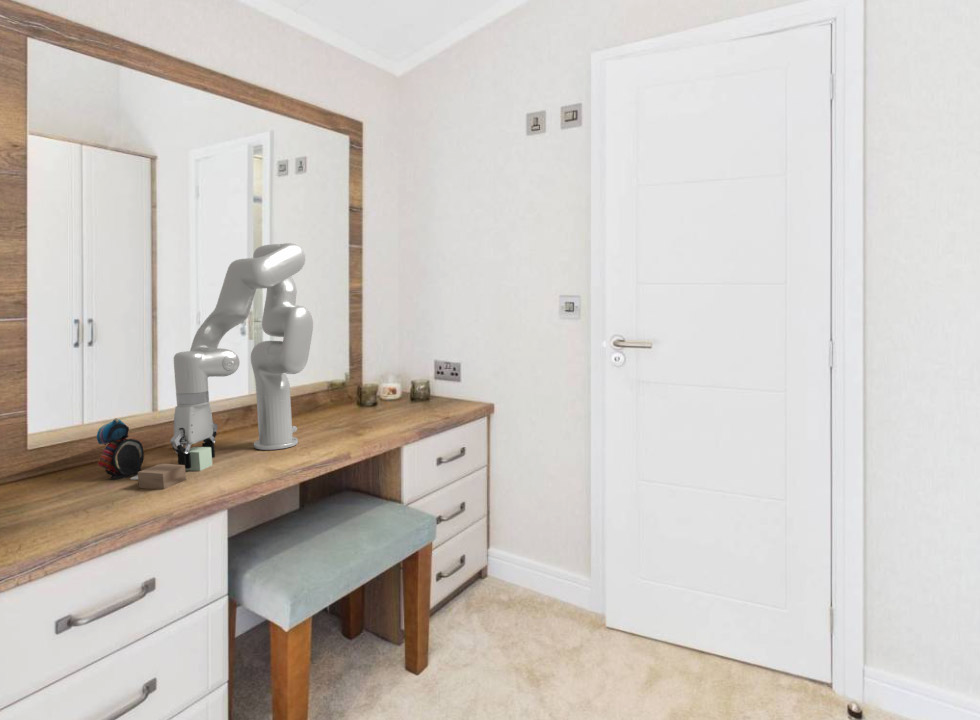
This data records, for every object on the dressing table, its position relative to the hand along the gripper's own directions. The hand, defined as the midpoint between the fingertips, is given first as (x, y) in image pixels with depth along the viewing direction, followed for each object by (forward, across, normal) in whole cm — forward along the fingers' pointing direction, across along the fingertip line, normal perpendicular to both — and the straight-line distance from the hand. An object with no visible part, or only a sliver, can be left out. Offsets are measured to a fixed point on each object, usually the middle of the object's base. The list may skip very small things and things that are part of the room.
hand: (197, 462), depth 151 cm
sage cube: (+1, 0, 0) cm, 1 cm away
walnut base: (+2, +13, 0) cm, 13 cm away
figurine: (+2, +8, -16) cm, 17 cm away
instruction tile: (+1, +7, -8) cm, 11 cm away
